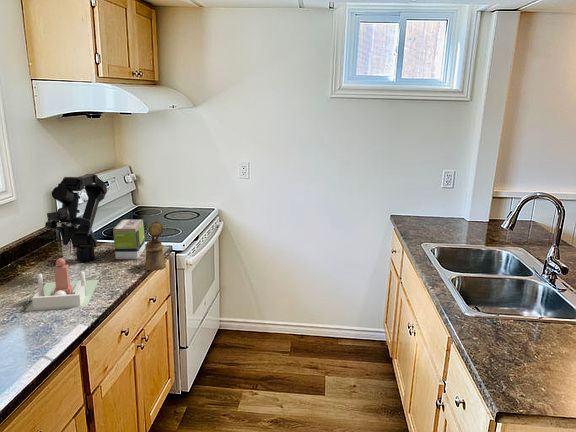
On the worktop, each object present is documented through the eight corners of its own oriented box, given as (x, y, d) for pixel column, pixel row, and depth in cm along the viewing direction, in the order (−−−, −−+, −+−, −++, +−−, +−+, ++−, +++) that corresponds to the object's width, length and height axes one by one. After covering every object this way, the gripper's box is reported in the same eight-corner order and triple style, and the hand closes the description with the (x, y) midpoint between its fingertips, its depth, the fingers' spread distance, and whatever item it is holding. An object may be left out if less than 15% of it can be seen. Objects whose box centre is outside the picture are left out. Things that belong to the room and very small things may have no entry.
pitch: (46, 283, 168) (45, 279, 167) (99, 280, 172) (98, 276, 172) (25, 312, 146) (24, 306, 145) (86, 307, 150) (86, 302, 149)
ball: (57, 296, 149) (58, 305, 151) (68, 291, 152) (69, 300, 154) (50, 291, 151) (52, 301, 153) (61, 286, 154) (63, 295, 156)
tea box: (124, 248, 209) (122, 218, 205) (145, 248, 210) (144, 218, 206) (114, 259, 195) (112, 227, 191) (138, 259, 196) (136, 227, 192)
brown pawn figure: (168, 259, 197) (167, 221, 192) (164, 270, 184) (162, 229, 179) (148, 259, 196) (146, 221, 191) (142, 271, 183) (140, 230, 178)
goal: (41, 297, 156) (38, 273, 153) (86, 294, 159) (84, 271, 157) (32, 309, 147) (29, 284, 145) (81, 305, 150) (79, 281, 148)
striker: (57, 293, 158) (53, 257, 155) (72, 292, 159) (69, 256, 156) (54, 298, 154) (50, 261, 151) (70, 297, 156) (66, 260, 152)
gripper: (35, 204, 173) (30, 243, 169) (69, 199, 165) (64, 240, 162) (59, 210, 182) (55, 247, 179) (93, 206, 175) (88, 244, 172)
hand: (65, 245), depth 173 cm, fingers closed
